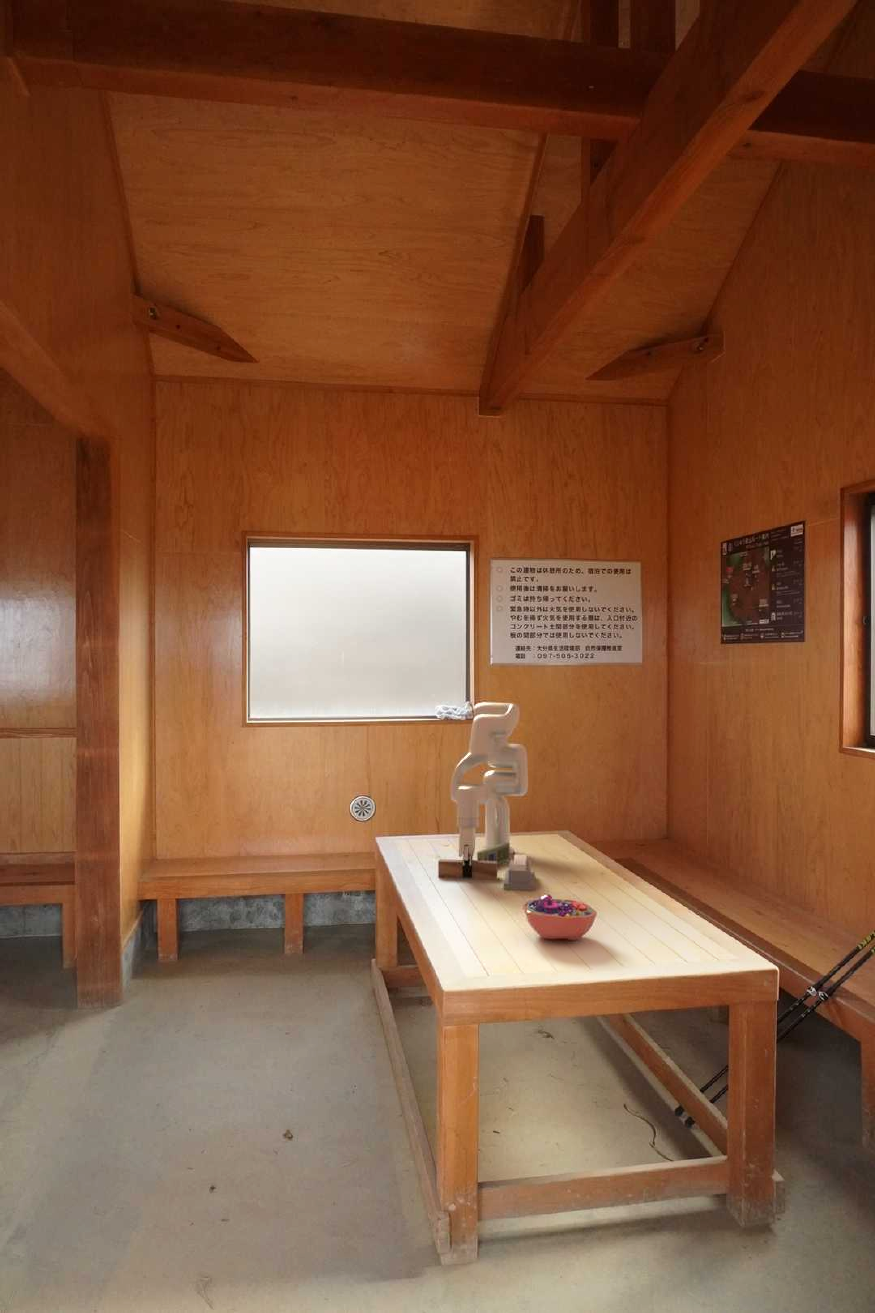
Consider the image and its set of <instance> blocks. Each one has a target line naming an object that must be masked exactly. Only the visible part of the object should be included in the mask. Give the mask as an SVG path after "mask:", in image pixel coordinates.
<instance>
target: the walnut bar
mask: <svg viewBox="0 0 875 1313" xmlns="http://www.w3.org/2000/svg"><path fill="white" fill-rule="evenodd" d="M437 864H438V869H437V870H438V872H437V876H438V878H439V879H440V878H442V879H443V878H445V879H467V880H468V879H471V880H472V879H473V880H474V879H475V880H497V879H498V865H497V861H480V860H471V866H472V877H471V878H467V877H463V876H462V874H463V859H446V858H445V859H443V858H439V860H438V862H437Z"/></svg>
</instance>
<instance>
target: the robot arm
mask: <svg viewBox="0 0 875 1313" xmlns="http://www.w3.org/2000/svg"><path fill="white" fill-rule="evenodd" d="M473 714H474V718H473V721H472V724H471V732H470V737H469V738H470V739H469V745H468V752H467V754H466V755H465V756H464V757H463V758H462V759H461V760H460V761H459V762H458V764H457V765H456V766H455V768H454V771H453V773H452V775H451V776H452V777H451V781H450V782H451V783H450V790H449V791H450V792H449V794H450V799H451V801H453V802H454V803H455V804H456V827H457V828H459V838H458V841H459V842H458V857H459V858H461V857H462V860H463V874H462V876H463V877H467V878H466V879H468V878H471V877H472V866H471V860H473V856H474V854H475V849H476V829H477V828H479V827H480V808H479V807H480V805H482V806H483V805H484V807H485V809H484V810H485V812H484V815H485V816H484V818H485V820H484V822H485V824H484V826H485V827H484V828H485V830H484V831H485V832H484V833H485V834H484V835H485V836H484V837H485V838H484V839H485V840H484V841H485V842H484V843H485V845H484V846H482V847H481V849H480V851H481V850H484V849H487V848H490V847H493V846H496V845H499V844H502V843H505V842H507V843H509V847H510V854H511V855H512V854H513V853H514V847H513V846H511V845H510V844H511V842H510V840H511V839H510V838H511V836H510V834H511V831H510V827H511V825H510V823H511V821H510V818H511V815H510V814H511V812H510V811H511V810H510V804H509V801H508V800H507V798H506V797H505V796H510V797H513V796H514V797H522V796H525V795H526V794H527V792H528V791H529V790H528V789H529V775H528V774H529V771H528V770H529V769H528V753H527V749H526V747H525V746H524V745H523V744H519V743H509V742H508V738H509V737H510V736H511V735H512V734H513V732H514V731H515V728H516V727H517V724H518V723H519V720H520V717H521V716H520V715H521V713H520V708H519V706H518V705H517V704H515V703H512V702H491V701H490V702H478V703H476V704H475V705H474V707H473ZM484 763H486V764H487V765H488V766H489V767H491V768H499V769H493V770H487V771H486V772H485V773H484V775H483V777H482V782H474V781H473V782H472V781H471V782H470V781H462V779H463V777H464V775H465V774H466V772H467V771H470V769H472V768H474V767H476V766H478V765H482V764H484ZM501 768H502V769H504V770H501ZM505 769H513V770H505Z"/></svg>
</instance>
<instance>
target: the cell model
mask: <svg viewBox="0 0 875 1313" xmlns="http://www.w3.org/2000/svg"><path fill="white" fill-rule="evenodd" d="M522 909H523V910H524V913H525V916H526V919H527V920H526V921H527V922H528V924H529V925H530V926H531V928H532V930H533V931H535V933H537V934H538V935H539V936H540V937H541V938H543V939H545V940H561V939H562V940H569V941H576V940H579V939H581V938H582V937H583V936H585V935H586V934H587V933H588V932H589V931H590V930H591V928H592V926H593V924H594V922H595V920H596V917H597V914H598V911H596V910H595V909H594V908H593V907H592V906H590V905H588V904H586V903H584V902H580V901H577V900H575V899H574V900H573V899H561V898H559V899H558V898H553V897H552V895H550V894H549V893H548V894H544V895H542V896H540V897H539V899H532V900H528V901H526V902H525V903H524V904H523V905H522Z"/></svg>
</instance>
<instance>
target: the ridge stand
mask: <svg viewBox="0 0 875 1313" xmlns="http://www.w3.org/2000/svg"><path fill="white" fill-rule="evenodd" d="M513 858H514V859H510V860H509V866H508V870H506V871H505V875H504V880H503V890H508V891H509V890H510V891H530V892H531V891H532V892H533V891H536V890H535V888H536V871H532V866H531V865H532V862H531V860H527V854H514V856H513Z"/></svg>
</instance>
